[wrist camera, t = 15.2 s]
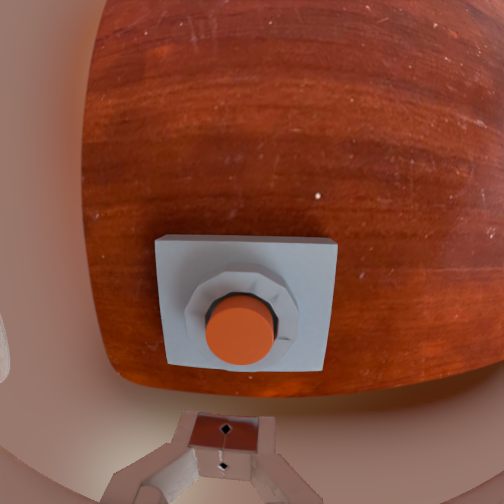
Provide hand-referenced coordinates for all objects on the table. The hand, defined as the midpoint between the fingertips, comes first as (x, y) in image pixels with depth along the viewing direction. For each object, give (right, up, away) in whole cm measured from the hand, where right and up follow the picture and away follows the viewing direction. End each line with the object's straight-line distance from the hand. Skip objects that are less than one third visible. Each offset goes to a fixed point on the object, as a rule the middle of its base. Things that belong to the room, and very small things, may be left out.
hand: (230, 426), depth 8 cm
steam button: (0, +2, +8) cm, 8 cm away
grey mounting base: (0, +3, +11) cm, 12 cm away
